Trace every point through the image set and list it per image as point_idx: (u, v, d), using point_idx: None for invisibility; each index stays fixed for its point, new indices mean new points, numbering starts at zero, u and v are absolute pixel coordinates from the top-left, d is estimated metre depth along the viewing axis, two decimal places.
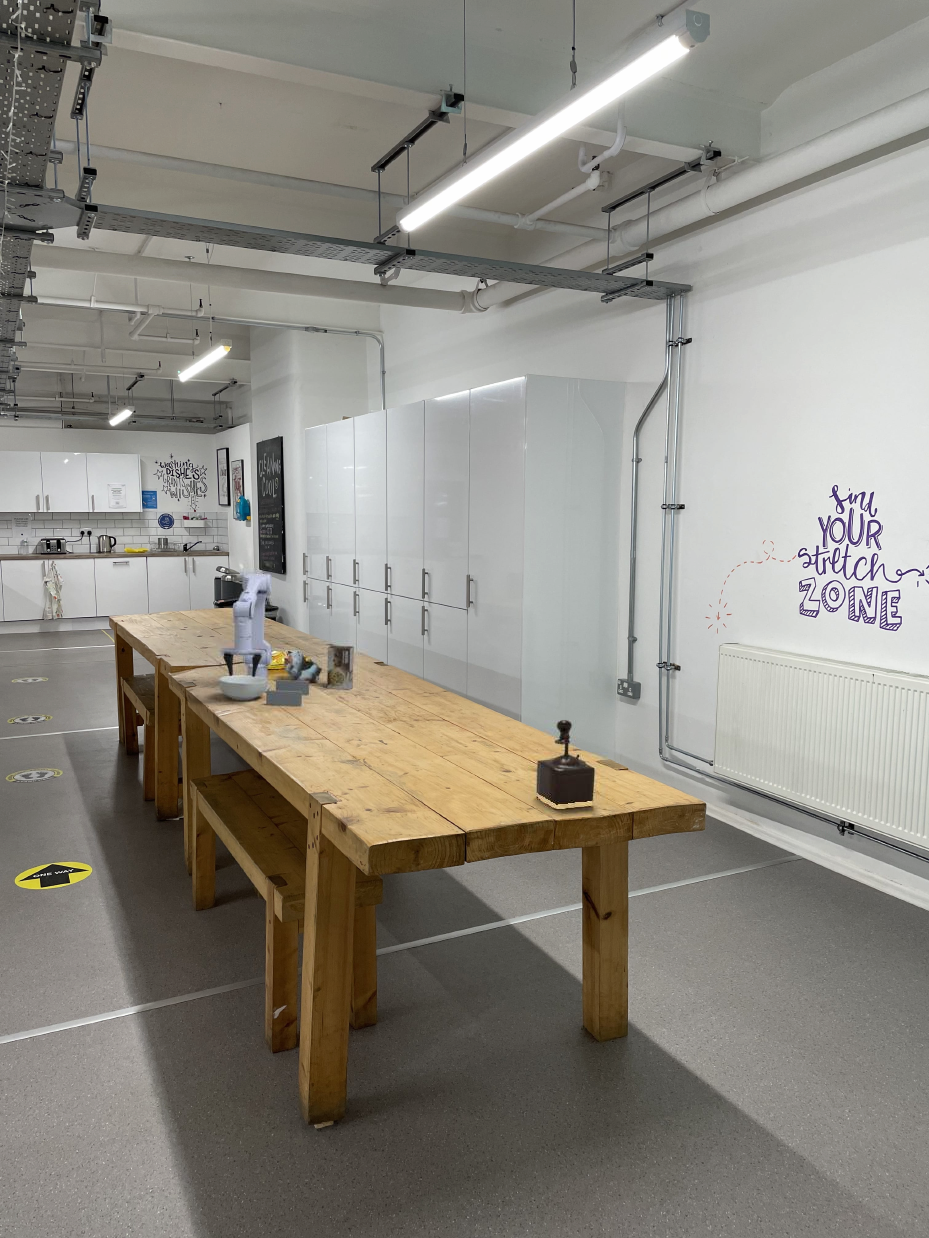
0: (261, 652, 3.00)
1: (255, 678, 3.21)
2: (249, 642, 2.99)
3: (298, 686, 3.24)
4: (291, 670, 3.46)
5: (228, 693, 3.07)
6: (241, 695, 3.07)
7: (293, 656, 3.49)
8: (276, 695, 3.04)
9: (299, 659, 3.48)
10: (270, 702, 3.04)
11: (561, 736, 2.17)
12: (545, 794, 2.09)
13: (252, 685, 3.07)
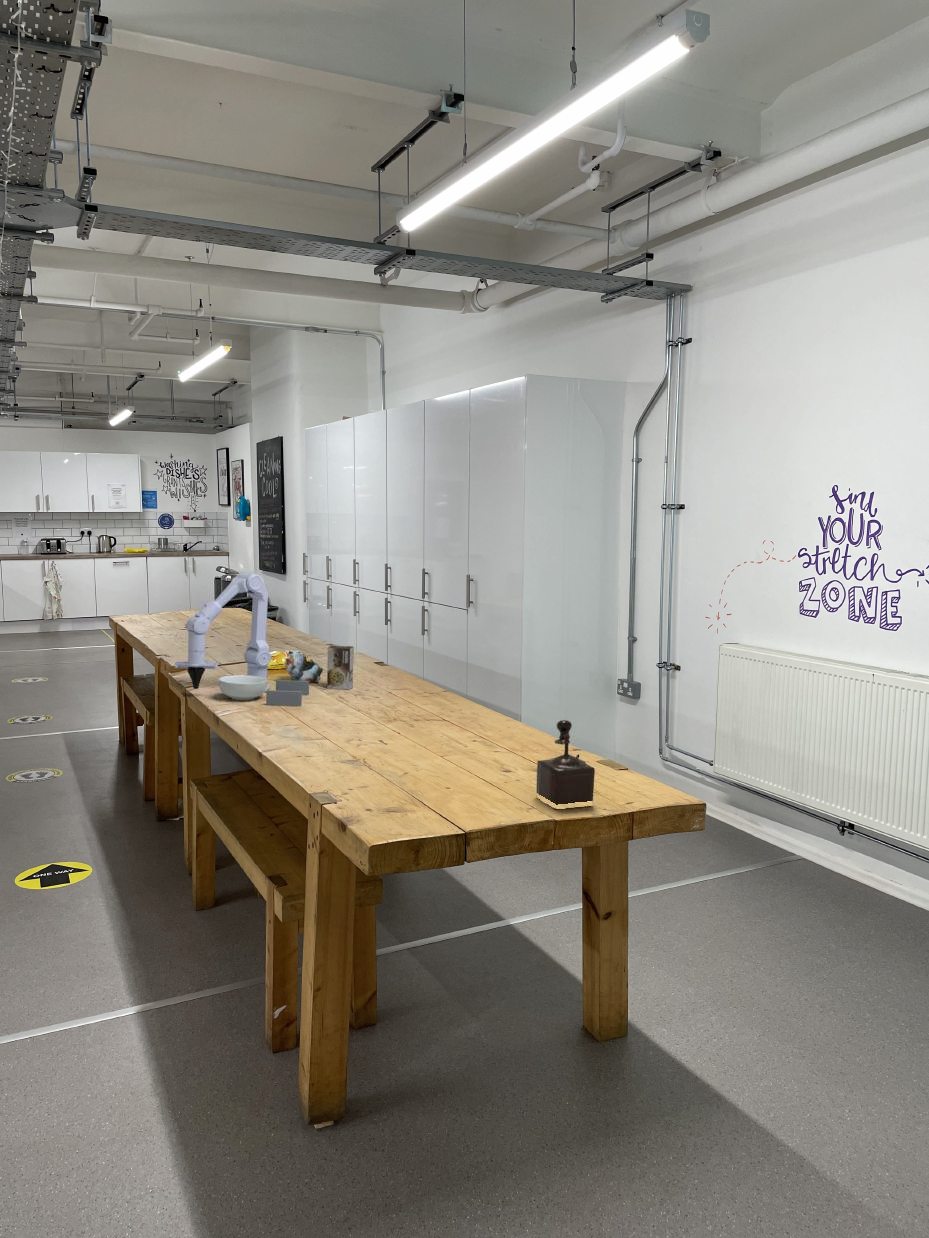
0: (214, 665, 3.12)
1: (255, 678, 3.21)
2: (202, 656, 3.11)
3: (298, 686, 3.24)
4: (293, 670, 3.45)
5: (228, 693, 3.07)
6: (241, 695, 3.07)
7: (294, 656, 3.48)
8: (276, 695, 3.04)
9: (300, 659, 3.48)
10: (270, 702, 3.04)
11: (561, 736, 2.17)
12: (545, 794, 2.09)
13: (252, 685, 3.07)
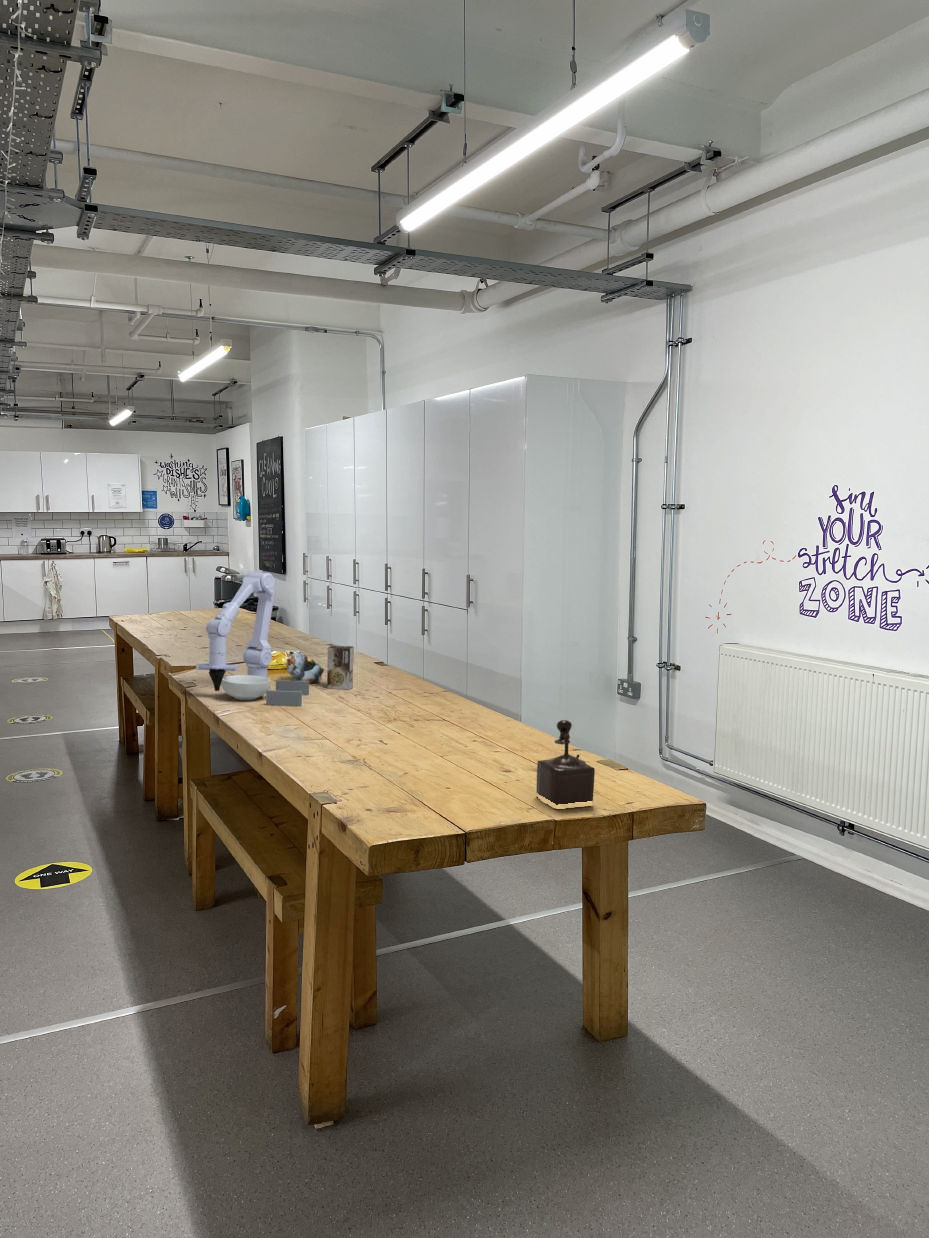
0: (235, 667, 3.12)
1: (258, 678, 3.21)
2: (223, 658, 3.11)
3: (298, 686, 3.24)
4: (294, 671, 3.44)
5: (231, 693, 3.07)
6: (244, 695, 3.07)
7: (296, 657, 3.47)
8: (276, 695, 3.04)
9: (302, 660, 3.47)
10: (270, 702, 3.04)
11: (561, 736, 2.17)
12: (545, 794, 2.09)
13: (255, 685, 3.07)
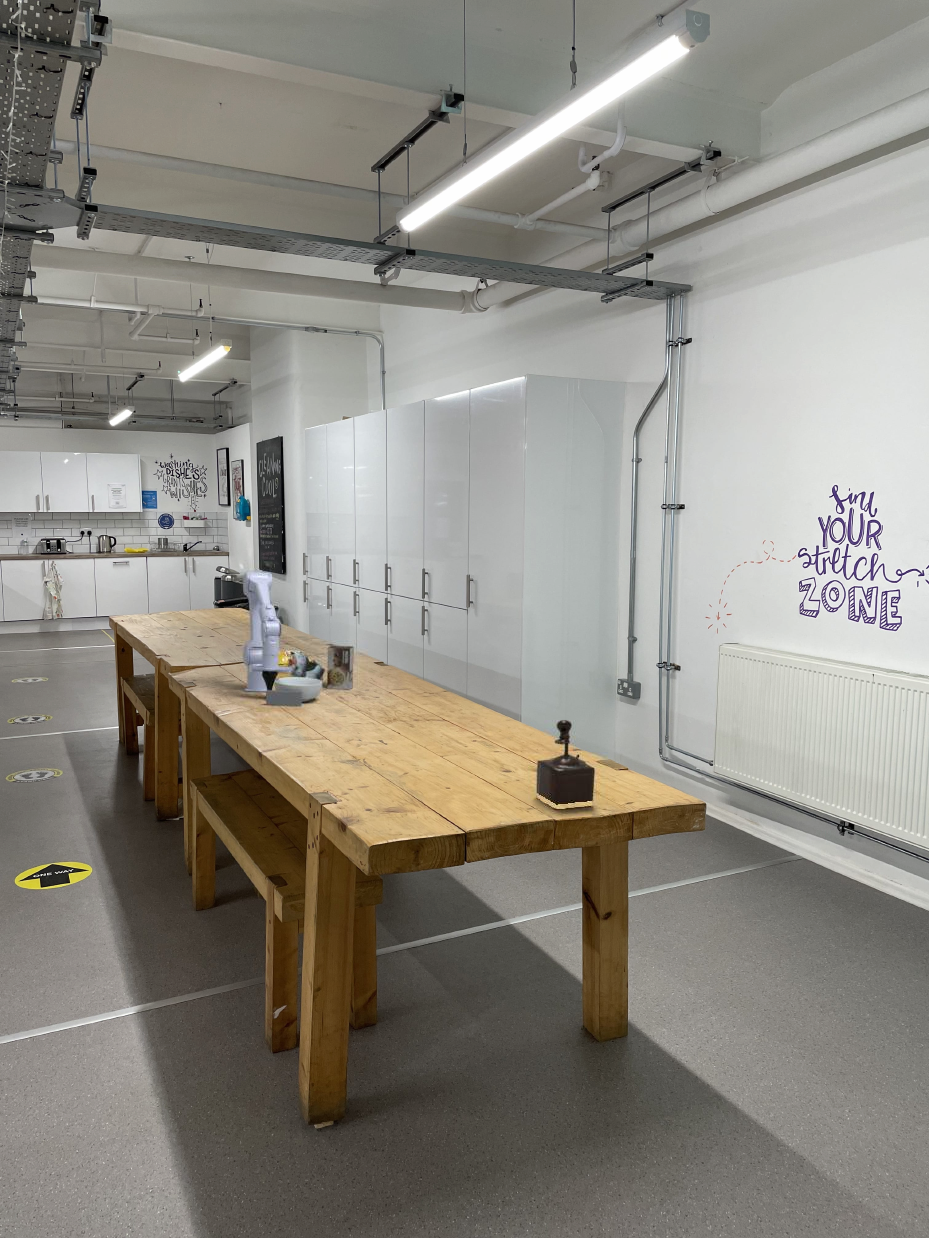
0: (288, 669, 3.13)
1: (310, 680, 3.22)
2: (276, 660, 3.12)
3: None
4: (296, 671, 3.44)
5: None
6: None
7: (297, 657, 3.47)
8: (276, 695, 3.04)
9: (303, 660, 3.47)
10: (270, 702, 3.04)
11: (561, 736, 2.17)
12: (545, 794, 2.09)
13: (308, 687, 3.08)
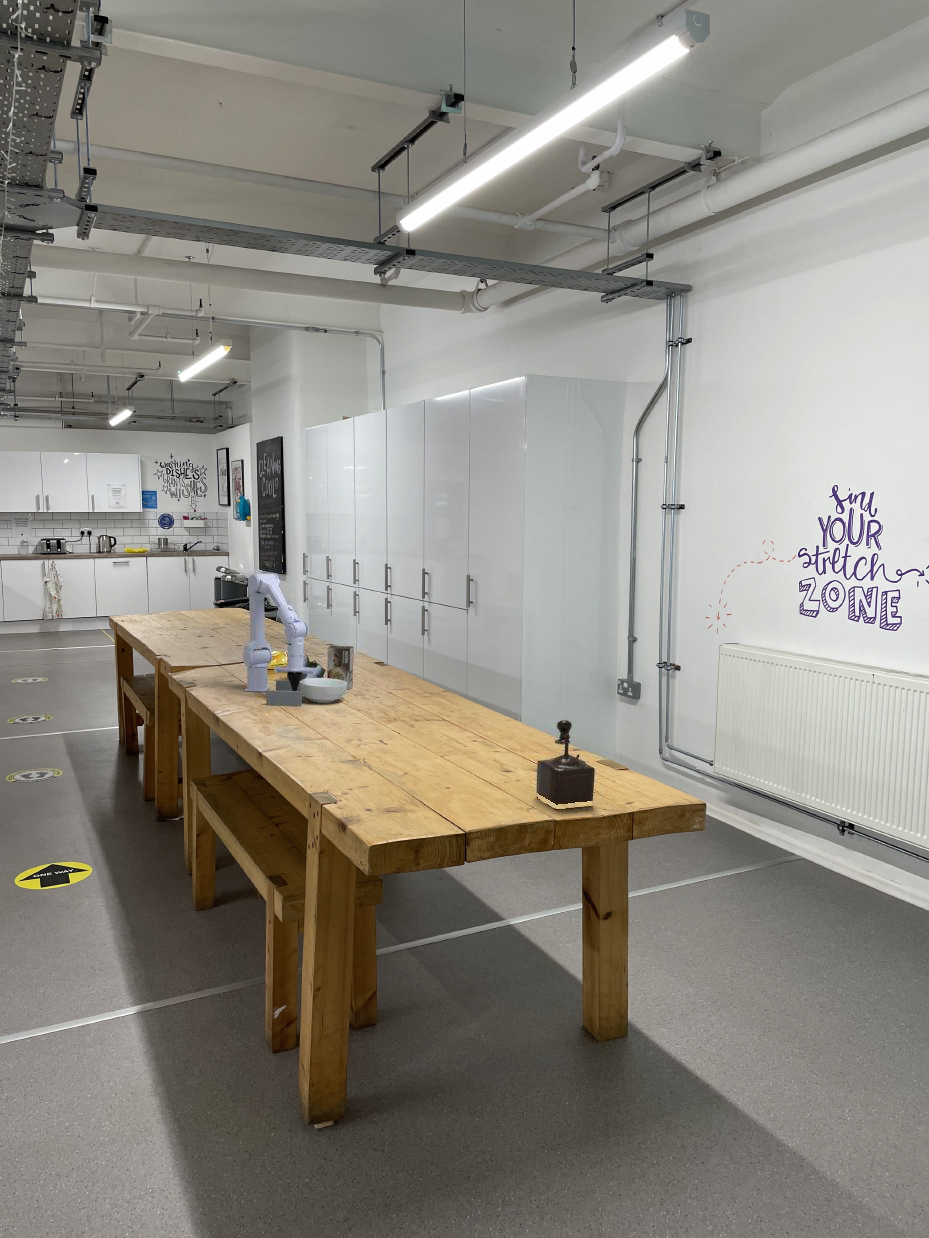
0: (313, 670, 3.13)
1: (334, 681, 3.22)
2: (301, 661, 3.13)
3: (298, 686, 3.24)
4: (297, 671, 3.43)
5: (309, 696, 3.09)
6: (322, 698, 3.08)
7: None
8: (276, 695, 3.04)
9: (304, 660, 3.46)
10: (270, 702, 3.04)
11: (561, 736, 2.17)
12: (545, 794, 2.09)
13: (333, 688, 3.08)
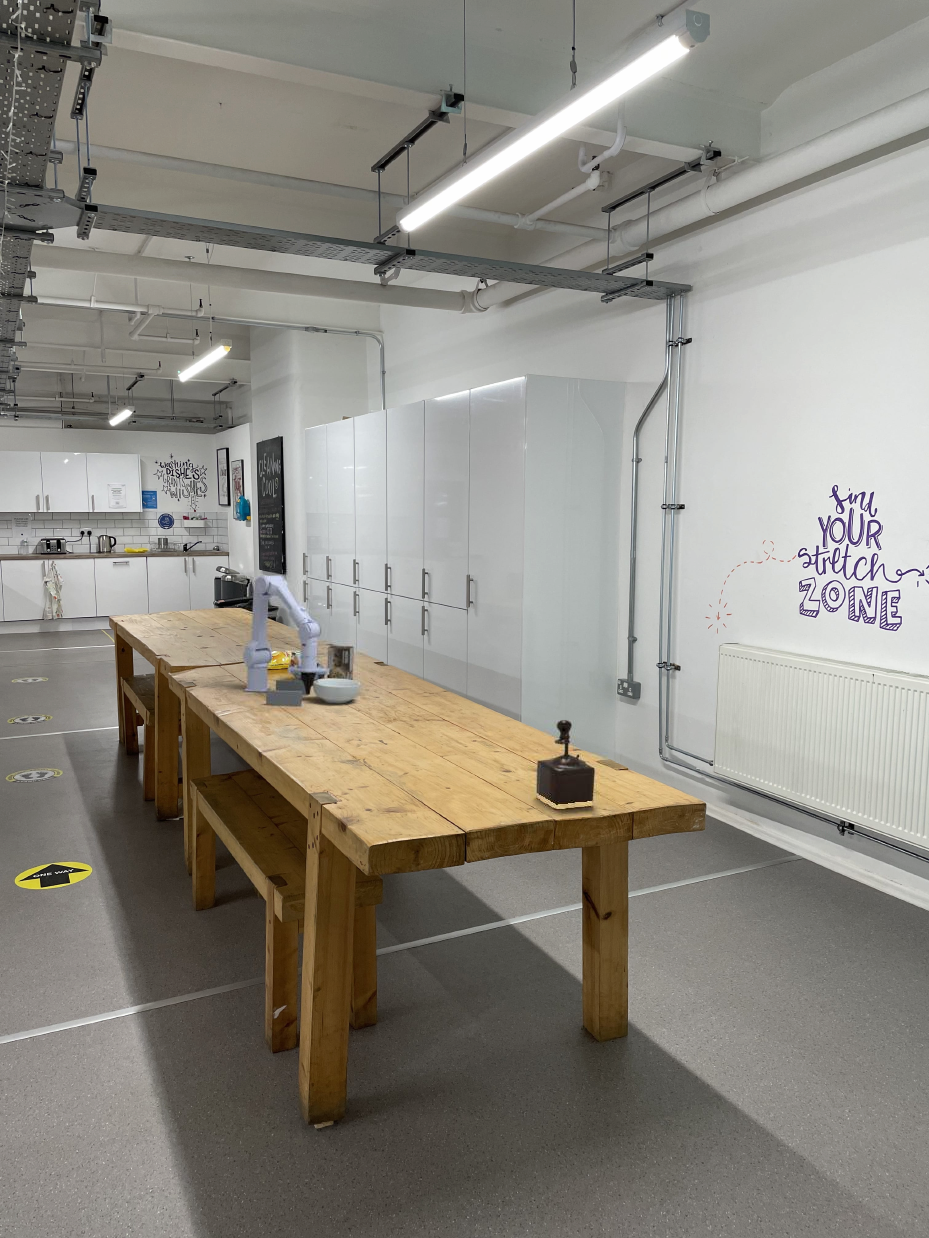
0: (326, 671, 3.14)
1: (347, 681, 3.22)
2: (315, 661, 3.13)
3: (298, 686, 3.24)
4: None
5: (323, 696, 3.09)
6: (336, 698, 3.08)
7: (299, 657, 3.46)
8: (276, 695, 3.04)
9: None
10: (270, 702, 3.04)
11: (561, 736, 2.17)
12: (545, 794, 2.09)
13: (347, 688, 3.08)
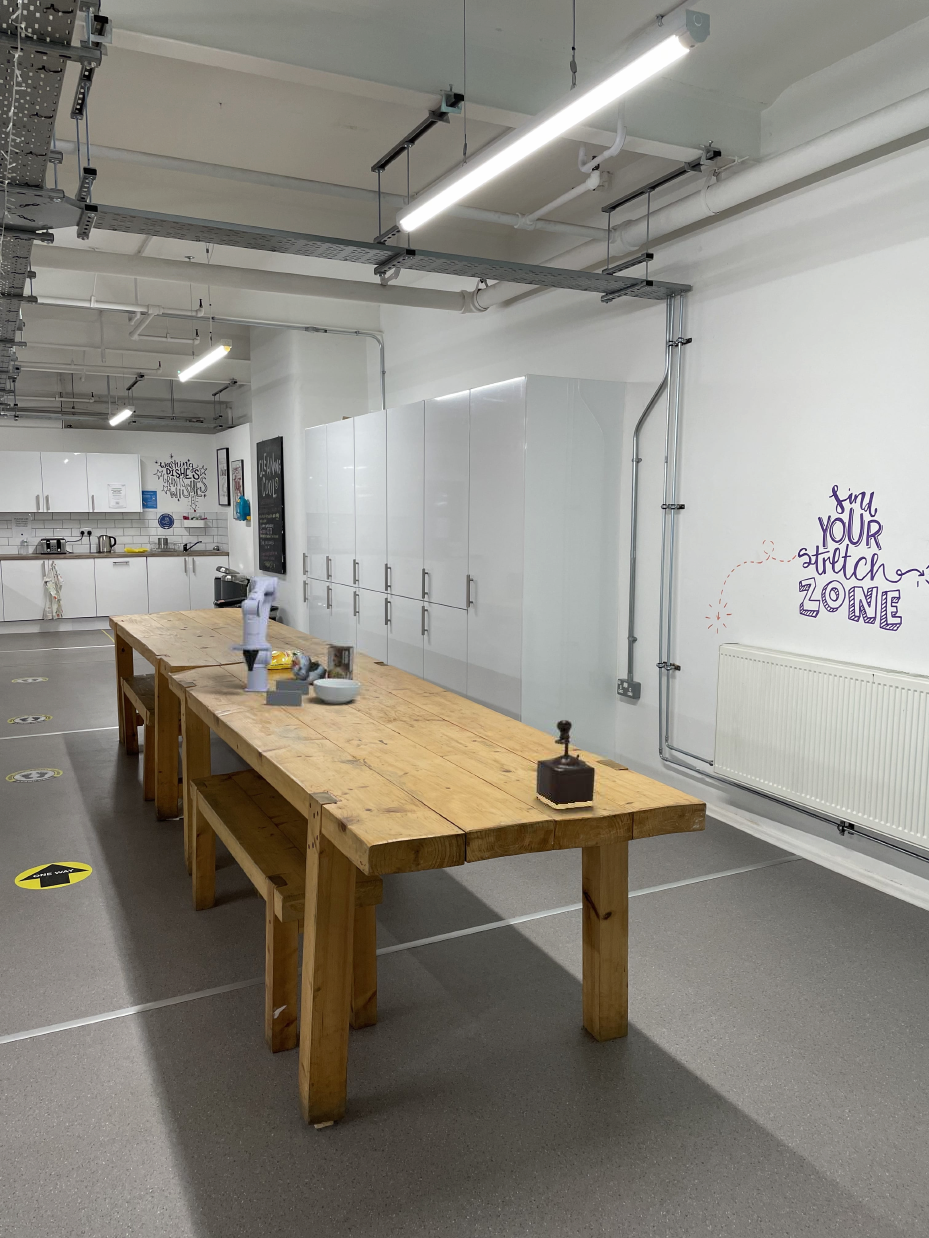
0: (269, 648, 3.15)
1: (347, 681, 3.22)
2: (257, 638, 3.14)
3: (298, 686, 3.24)
4: (299, 672, 3.42)
5: (323, 696, 3.09)
6: (336, 698, 3.08)
7: (300, 658, 3.45)
8: (276, 695, 3.04)
9: (306, 661, 3.45)
10: (270, 702, 3.04)
11: (561, 736, 2.17)
12: (545, 794, 2.09)
13: (347, 689, 3.08)
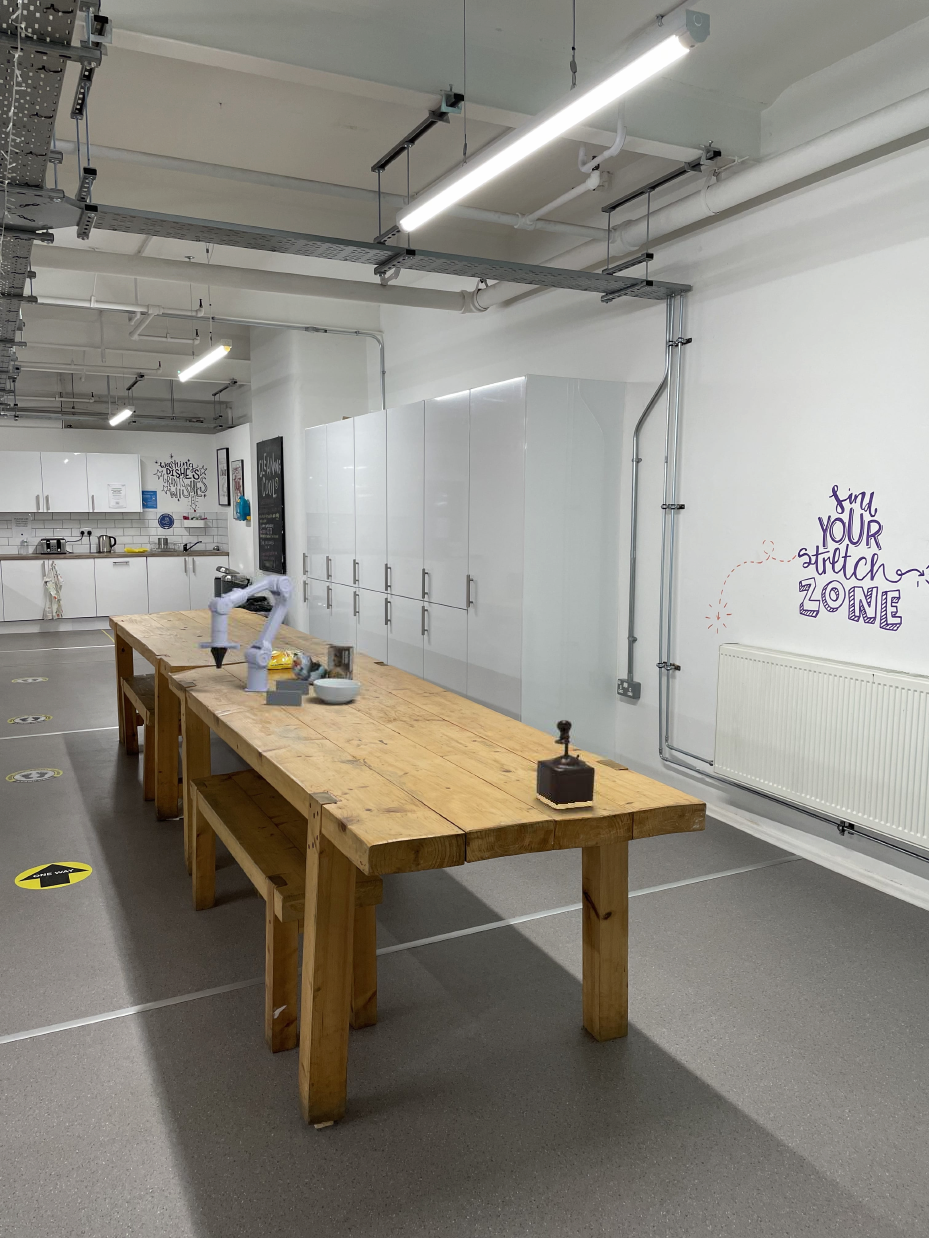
0: (236, 645, 3.17)
1: (347, 681, 3.22)
2: (225, 636, 3.16)
3: (298, 686, 3.24)
4: (301, 672, 3.42)
5: (323, 696, 3.09)
6: (336, 698, 3.08)
7: (301, 658, 3.45)
8: (276, 695, 3.04)
9: (308, 661, 3.45)
10: (270, 702, 3.04)
11: (561, 736, 2.17)
12: (545, 794, 2.09)
13: (347, 689, 3.08)
